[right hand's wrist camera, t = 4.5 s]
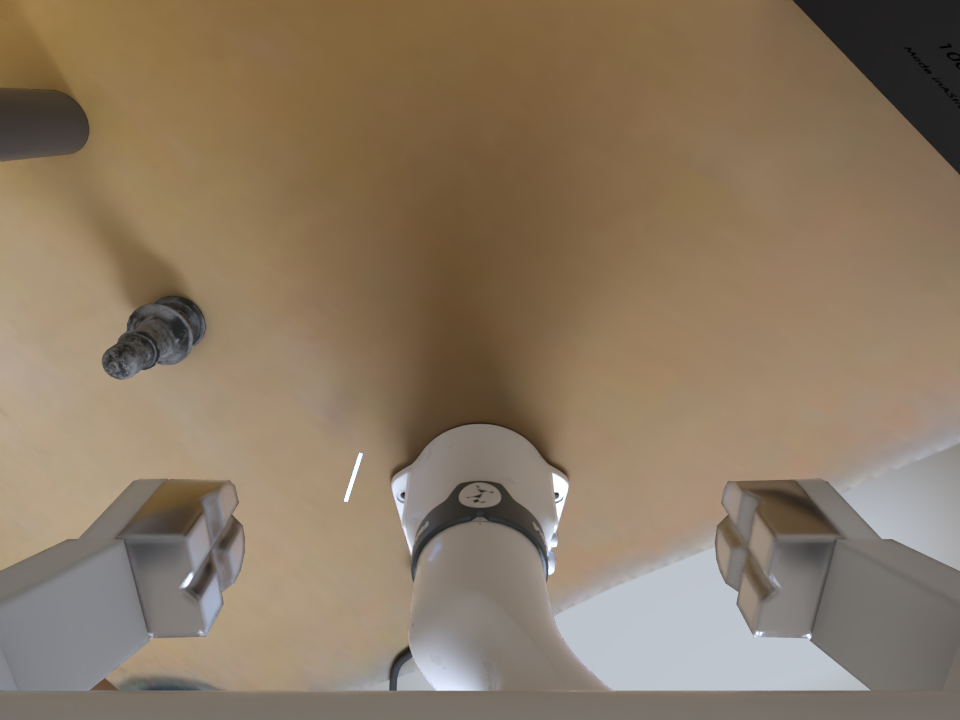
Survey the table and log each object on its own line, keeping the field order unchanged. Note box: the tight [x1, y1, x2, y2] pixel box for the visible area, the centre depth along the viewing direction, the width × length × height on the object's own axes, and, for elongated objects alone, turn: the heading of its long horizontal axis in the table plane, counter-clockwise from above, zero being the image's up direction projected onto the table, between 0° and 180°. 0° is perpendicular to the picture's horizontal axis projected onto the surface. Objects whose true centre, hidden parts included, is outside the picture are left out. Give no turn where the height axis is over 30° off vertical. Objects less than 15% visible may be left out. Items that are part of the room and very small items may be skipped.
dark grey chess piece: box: [102, 296, 205, 379], centre depth 54 cm, size 6×6×12 cm
